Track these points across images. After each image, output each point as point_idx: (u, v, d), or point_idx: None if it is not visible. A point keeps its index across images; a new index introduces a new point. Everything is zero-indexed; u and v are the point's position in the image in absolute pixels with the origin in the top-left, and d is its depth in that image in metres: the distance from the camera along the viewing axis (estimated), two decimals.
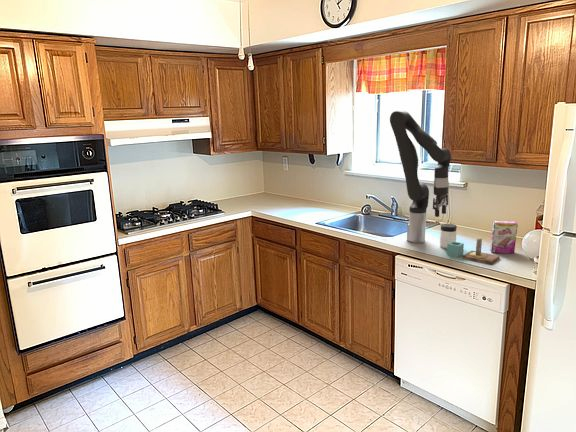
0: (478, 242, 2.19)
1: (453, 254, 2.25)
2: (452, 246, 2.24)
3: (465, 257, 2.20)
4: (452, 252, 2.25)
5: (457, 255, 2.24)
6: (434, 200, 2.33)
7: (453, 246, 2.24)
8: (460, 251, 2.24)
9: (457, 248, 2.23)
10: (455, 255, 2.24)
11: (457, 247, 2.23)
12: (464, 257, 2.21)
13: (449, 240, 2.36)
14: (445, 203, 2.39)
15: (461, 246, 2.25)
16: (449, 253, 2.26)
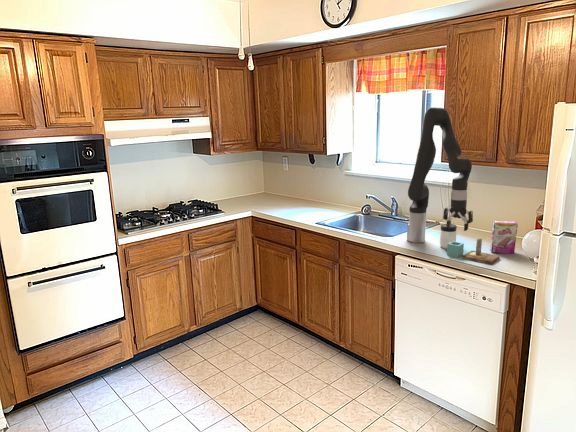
0: (478, 242, 2.19)
1: (453, 254, 2.25)
2: (452, 246, 2.24)
3: (465, 257, 2.20)
4: (452, 252, 2.25)
5: (457, 255, 2.24)
6: (471, 213, 2.17)
7: (453, 246, 2.24)
8: (460, 251, 2.24)
9: (457, 248, 2.23)
10: (455, 255, 2.24)
11: (457, 247, 2.23)
12: (464, 257, 2.21)
13: (449, 240, 2.36)
14: None
15: (461, 246, 2.25)
16: (449, 253, 2.26)
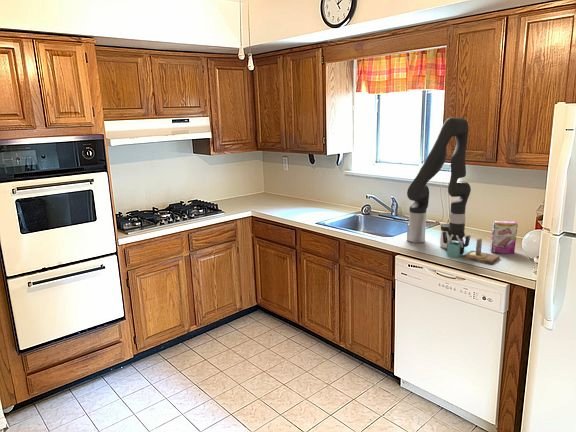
0: (478, 242, 2.19)
1: (453, 254, 2.25)
2: (452, 246, 2.24)
3: (465, 257, 2.20)
4: (452, 252, 2.25)
5: (457, 255, 2.24)
6: (469, 238, 2.20)
7: (453, 246, 2.24)
8: None
9: (457, 248, 2.23)
10: (455, 255, 2.24)
11: (457, 247, 2.23)
12: (464, 257, 2.21)
13: None
14: None
15: None
16: (449, 253, 2.26)
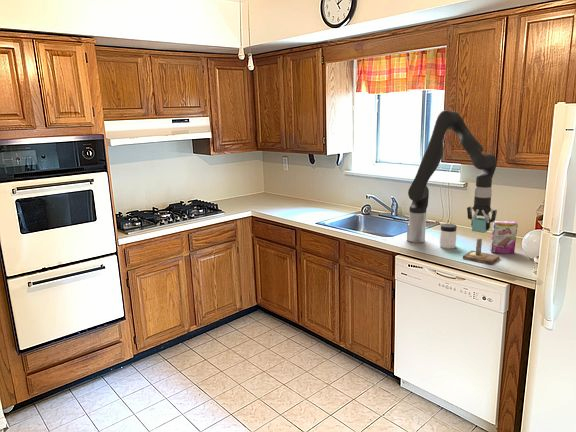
0: (478, 242, 2.19)
1: (479, 230, 2.16)
2: (477, 221, 2.15)
3: (465, 257, 2.20)
4: (477, 228, 2.16)
5: (483, 231, 2.14)
6: (495, 212, 2.11)
7: (479, 221, 2.15)
8: None
9: (483, 223, 2.13)
10: (481, 231, 2.15)
11: (483, 222, 2.13)
12: (464, 257, 2.21)
13: (449, 240, 2.36)
14: None
15: None
16: (474, 229, 2.17)
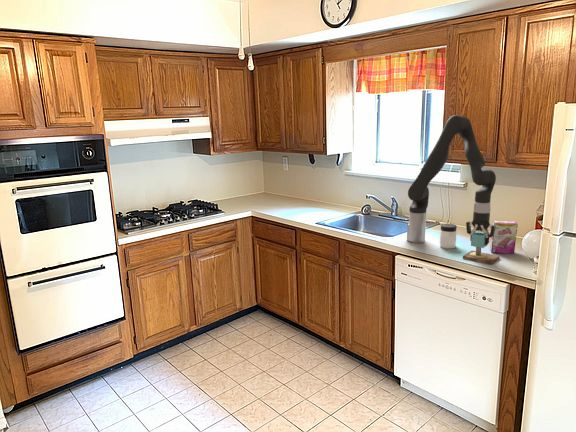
0: None
1: (477, 245, 2.17)
2: (476, 236, 2.17)
3: (465, 257, 2.20)
4: (476, 243, 2.17)
5: (482, 246, 2.16)
6: (494, 228, 2.13)
7: (478, 236, 2.17)
8: None
9: (482, 238, 2.15)
10: (480, 246, 2.17)
11: (482, 237, 2.15)
12: (464, 257, 2.21)
13: (449, 240, 2.36)
14: None
15: None
16: (473, 244, 2.19)
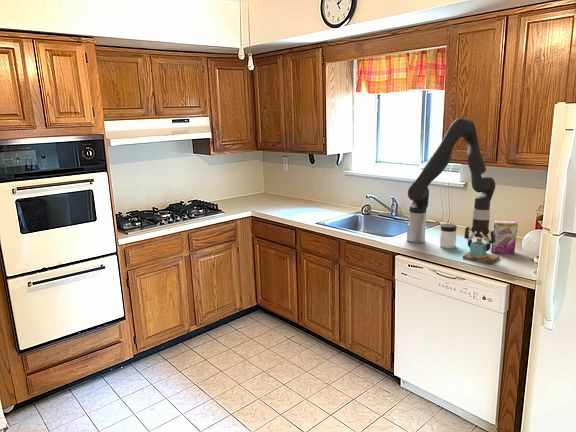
0: (478, 242, 2.19)
1: (476, 254, 2.18)
2: (475, 246, 2.18)
3: (465, 257, 2.20)
4: (475, 252, 2.19)
5: (481, 255, 2.17)
6: (494, 233, 2.13)
7: (476, 246, 2.18)
8: (484, 251, 2.18)
9: (481, 248, 2.16)
10: (478, 255, 2.18)
11: (480, 247, 2.16)
12: (464, 257, 2.21)
13: (449, 240, 2.36)
14: None
15: (485, 246, 2.18)
16: (472, 253, 2.20)
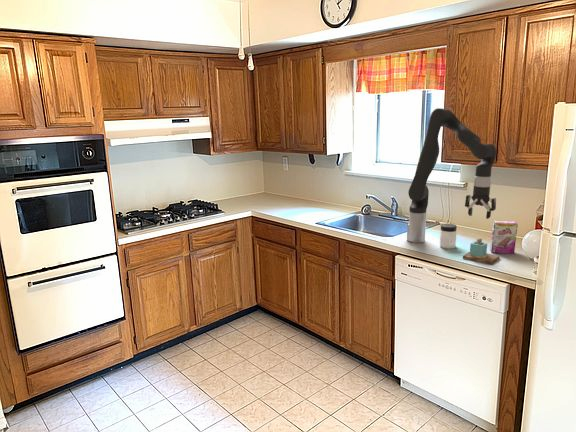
0: (478, 242, 2.19)
1: (476, 254, 2.18)
2: (475, 246, 2.18)
3: (465, 257, 2.20)
4: (475, 252, 2.19)
5: (481, 255, 2.17)
6: (494, 200, 2.12)
7: (476, 246, 2.18)
8: (484, 251, 2.18)
9: (481, 248, 2.16)
10: (478, 255, 2.18)
11: (480, 247, 2.16)
12: (464, 257, 2.21)
13: (449, 240, 2.36)
14: None
15: (485, 246, 2.18)
16: (472, 253, 2.20)
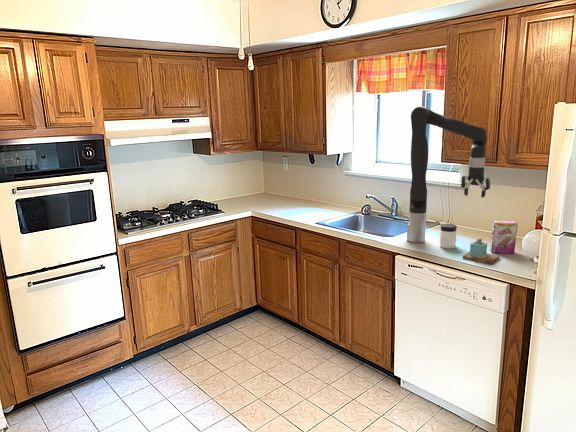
0: (478, 242, 2.19)
1: (476, 254, 2.18)
2: (475, 246, 2.18)
3: (465, 257, 2.20)
4: (475, 252, 2.19)
5: (481, 255, 2.17)
6: (488, 180, 2.26)
7: (476, 246, 2.18)
8: (484, 251, 2.18)
9: (481, 248, 2.16)
10: (478, 255, 2.18)
11: (480, 247, 2.16)
12: (464, 257, 2.21)
13: (449, 240, 2.36)
14: None
15: (485, 246, 2.18)
16: (472, 253, 2.20)
